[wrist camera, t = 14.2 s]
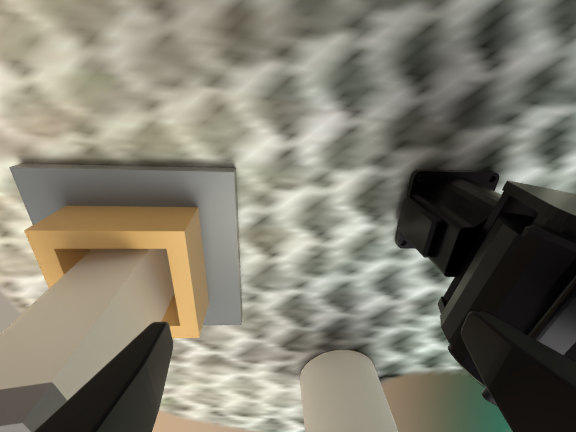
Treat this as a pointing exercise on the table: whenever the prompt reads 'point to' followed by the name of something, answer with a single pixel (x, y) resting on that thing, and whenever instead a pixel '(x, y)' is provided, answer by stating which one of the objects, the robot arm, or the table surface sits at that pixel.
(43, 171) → the socket plate
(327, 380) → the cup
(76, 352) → the plug
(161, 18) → the table surface
